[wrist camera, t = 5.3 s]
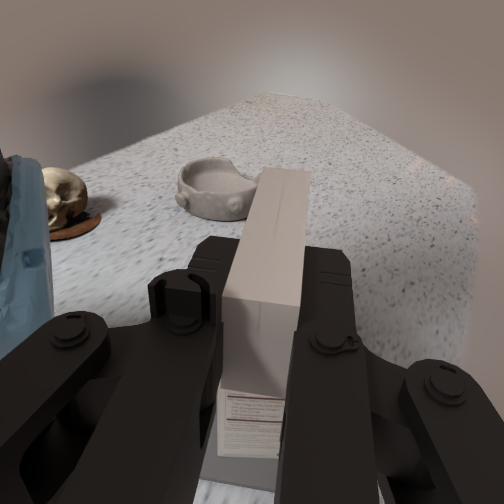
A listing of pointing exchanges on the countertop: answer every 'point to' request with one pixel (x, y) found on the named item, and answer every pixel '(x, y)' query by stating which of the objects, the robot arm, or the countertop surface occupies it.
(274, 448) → the supplement box
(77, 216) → the skull
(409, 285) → the countertop surface
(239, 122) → the countertop surface
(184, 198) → the dish
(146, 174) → the countertop surface
